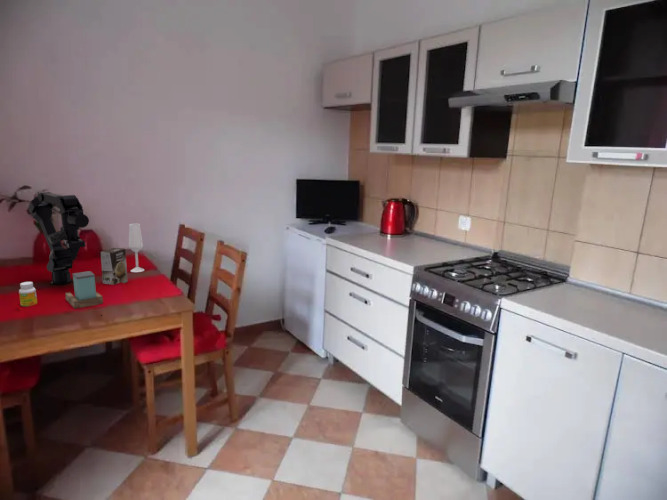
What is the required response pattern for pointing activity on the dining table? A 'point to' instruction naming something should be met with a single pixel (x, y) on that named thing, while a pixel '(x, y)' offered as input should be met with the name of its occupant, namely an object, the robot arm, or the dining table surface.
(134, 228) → the champagne flute
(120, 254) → the coffee box
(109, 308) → the dining table surface
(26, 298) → the supplement bottle
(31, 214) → the robot arm
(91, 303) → the walnut track
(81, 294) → the grey teal box
